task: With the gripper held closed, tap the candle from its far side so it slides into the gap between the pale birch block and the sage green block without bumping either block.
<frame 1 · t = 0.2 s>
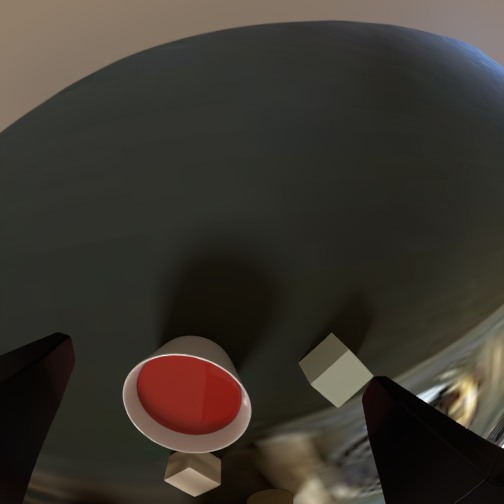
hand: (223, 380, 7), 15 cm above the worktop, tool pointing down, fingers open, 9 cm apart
candle: (194, 368, 23), on the worktop
cork: (269, 499, 25), on the worktop
birch block: (194, 458, 23), on the worktop
sage block: (327, 360, 24), on the worktop
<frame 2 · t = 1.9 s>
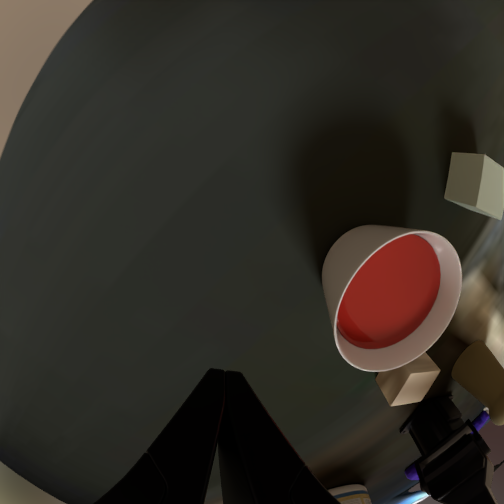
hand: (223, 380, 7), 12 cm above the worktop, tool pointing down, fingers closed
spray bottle: (456, 433, 33), on the worktop
candle: (362, 268, 20), on the worktop
cork: (467, 359, 25), on the worktop
birch block: (398, 363, 23), on the worktop
sage block: (462, 182, 18), on the worktop
supplement tub: (333, 494, 34), on the worktop
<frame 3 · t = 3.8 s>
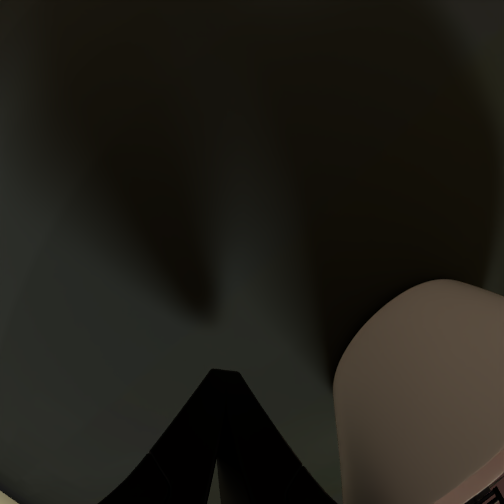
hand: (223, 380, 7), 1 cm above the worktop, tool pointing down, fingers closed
candle: (408, 353, 9), on the worktop, touching gripper
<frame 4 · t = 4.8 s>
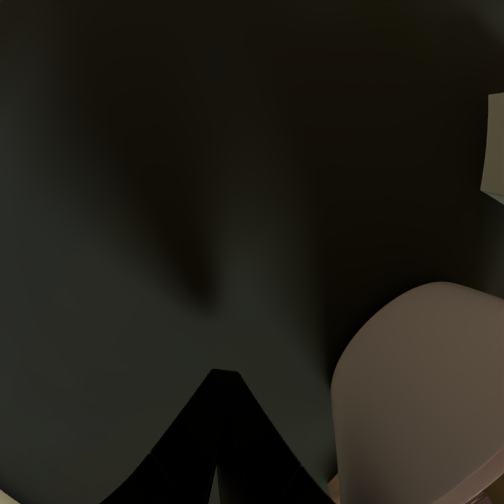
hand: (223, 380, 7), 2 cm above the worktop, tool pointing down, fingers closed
candle: (406, 356, 9), on the worktop, touching gripper
cork: (477, 432, 14), on the worktop
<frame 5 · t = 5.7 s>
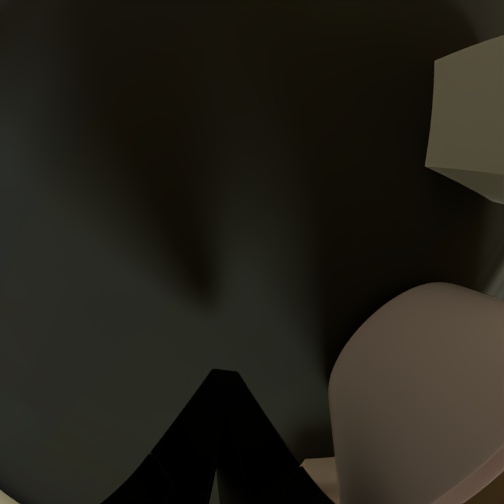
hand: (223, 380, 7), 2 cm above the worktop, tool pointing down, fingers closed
candle: (404, 356, 9), on the worktop, touching gripper
cork: (460, 440, 13), on the worktop
birch block: (326, 471, 12), on the worktop
sage block: (469, 133, 7), on the worktop
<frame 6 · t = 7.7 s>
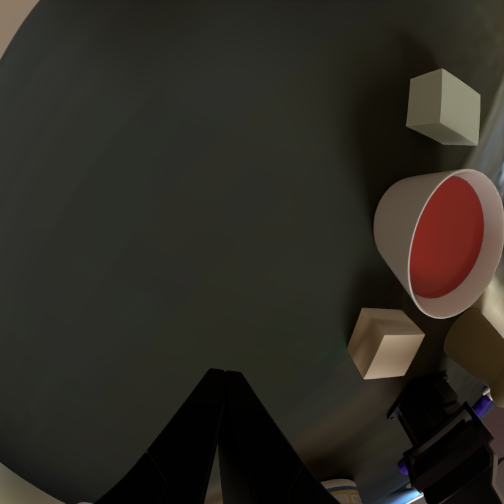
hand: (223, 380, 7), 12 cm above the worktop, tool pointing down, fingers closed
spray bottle: (455, 421, 31), on the worktop
candle: (408, 222, 18), on the worktop
cork: (462, 331, 23), on the worktop
birch block: (374, 329, 21), on the worktop
sage block: (427, 112, 16), on the worktop
supplement tub: (319, 490, 32), on the worktop
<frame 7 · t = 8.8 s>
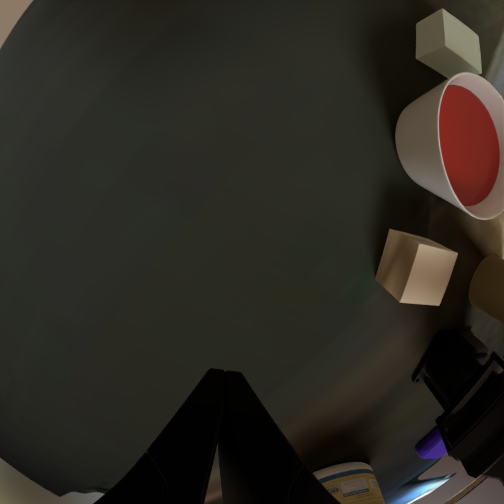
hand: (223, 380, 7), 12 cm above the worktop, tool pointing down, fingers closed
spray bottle: (473, 399, 29), on the worktop
candle: (427, 144, 17), on the worktop
cork: (485, 280, 21), on the worktop
birch block: (402, 258, 19), on the worktop
sage block: (434, 51, 14), on the worktop
supplement tub: (331, 476, 30), on the worktop
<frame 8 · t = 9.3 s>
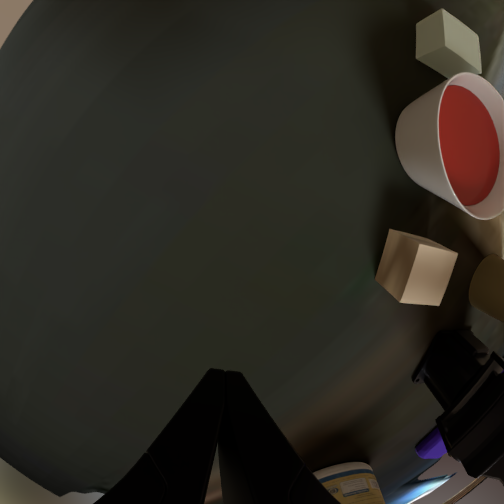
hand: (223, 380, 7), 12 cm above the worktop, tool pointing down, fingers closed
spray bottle: (473, 399, 29), on the worktop
candle: (427, 144, 17), on the worktop
cork: (485, 280, 21), on the worktop
birch block: (402, 257, 19), on the worktop
sage block: (434, 51, 14), on the worktop
supplement tub: (331, 476, 30), on the worktop
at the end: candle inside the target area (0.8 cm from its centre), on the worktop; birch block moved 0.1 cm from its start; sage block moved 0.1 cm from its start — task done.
